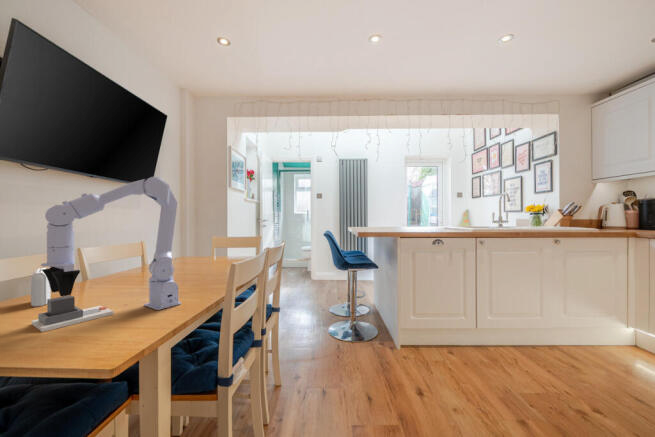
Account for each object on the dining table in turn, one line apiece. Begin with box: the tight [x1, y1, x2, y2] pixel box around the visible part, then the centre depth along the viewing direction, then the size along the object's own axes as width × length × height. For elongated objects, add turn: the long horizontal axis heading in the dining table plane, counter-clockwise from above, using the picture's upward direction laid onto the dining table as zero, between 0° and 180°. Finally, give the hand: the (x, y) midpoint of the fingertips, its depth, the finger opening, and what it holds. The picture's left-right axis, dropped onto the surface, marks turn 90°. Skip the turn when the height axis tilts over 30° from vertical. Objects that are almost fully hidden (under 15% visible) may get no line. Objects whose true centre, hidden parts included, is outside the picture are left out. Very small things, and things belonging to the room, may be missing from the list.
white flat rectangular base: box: [31, 305, 114, 333], centre depth 83 cm, size 10×16×3 cm, turn 148°
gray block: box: [46, 294, 76, 317], centre depth 80 cm, size 4×5×6 cm
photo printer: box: [30, 267, 52, 308], centre depth 98 cm, size 10×4×12 cm, turn 39°
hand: (61, 293), depth 80 cm, fingers open, 7 cm apart
